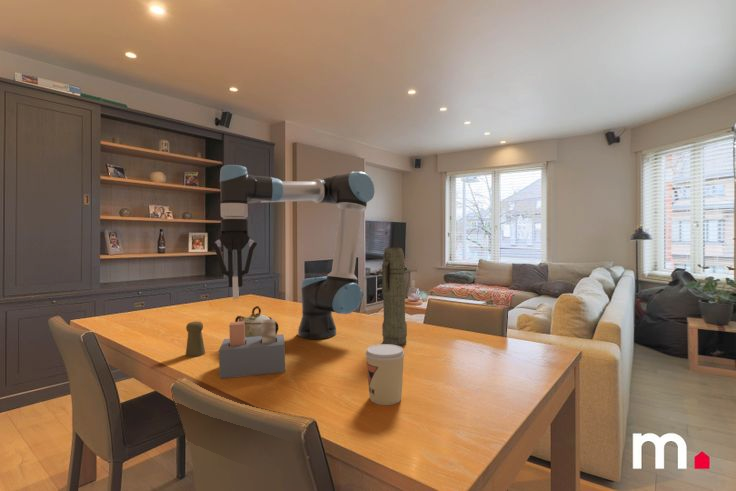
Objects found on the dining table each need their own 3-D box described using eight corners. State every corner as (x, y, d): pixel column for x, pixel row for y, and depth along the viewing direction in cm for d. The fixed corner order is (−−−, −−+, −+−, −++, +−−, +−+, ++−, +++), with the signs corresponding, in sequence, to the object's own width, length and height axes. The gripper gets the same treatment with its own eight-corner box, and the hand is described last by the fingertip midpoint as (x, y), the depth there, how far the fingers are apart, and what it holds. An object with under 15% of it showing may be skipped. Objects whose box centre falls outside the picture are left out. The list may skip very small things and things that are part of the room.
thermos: (375, 344, 135) (374, 247, 134) (391, 336, 145) (390, 246, 144) (397, 348, 131) (396, 248, 130) (412, 340, 141) (411, 246, 140)
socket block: (283, 358, 121) (283, 334, 121) (285, 371, 110) (284, 344, 110) (224, 364, 117) (224, 338, 117) (219, 378, 105) (218, 350, 105)
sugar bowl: (292, 345, 136) (291, 304, 135) (263, 358, 123) (262, 312, 122) (251, 339, 145) (250, 300, 144) (220, 350, 131) (219, 307, 131)
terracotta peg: (245, 347, 114) (244, 321, 114) (244, 351, 111) (243, 324, 110) (231, 348, 113) (230, 322, 113) (230, 352, 110) (229, 325, 109)
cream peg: (275, 344, 117) (275, 319, 116) (275, 348, 113) (275, 321, 113) (262, 345, 116) (261, 319, 115) (262, 349, 112) (261, 322, 112)
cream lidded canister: (364, 391, 95) (364, 344, 95) (401, 389, 96) (400, 342, 96) (368, 407, 86) (367, 356, 86) (408, 405, 87) (407, 354, 87)
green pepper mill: (197, 357, 124) (196, 324, 124) (181, 356, 125) (180, 323, 125) (208, 351, 130) (208, 320, 130) (193, 351, 131) (192, 319, 131)
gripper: (257, 219, 116) (259, 295, 117) (212, 219, 113) (214, 297, 113) (256, 218, 109) (258, 298, 109) (208, 217, 106) (210, 301, 106)
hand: (235, 298), depth 111 cm, fingers closed
